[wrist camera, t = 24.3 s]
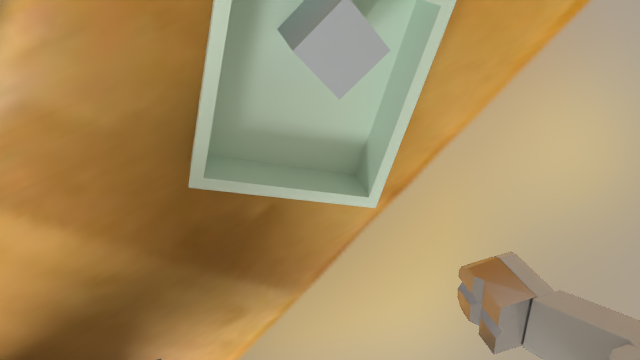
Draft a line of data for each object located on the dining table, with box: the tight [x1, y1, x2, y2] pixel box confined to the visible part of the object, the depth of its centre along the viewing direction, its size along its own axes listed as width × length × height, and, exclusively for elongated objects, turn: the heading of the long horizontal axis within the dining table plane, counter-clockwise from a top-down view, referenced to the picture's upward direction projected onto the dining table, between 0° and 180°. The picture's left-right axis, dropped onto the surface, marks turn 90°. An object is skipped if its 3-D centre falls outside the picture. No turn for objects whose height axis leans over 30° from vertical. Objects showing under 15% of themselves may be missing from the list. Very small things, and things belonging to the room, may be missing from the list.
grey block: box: [277, 0, 391, 100], centre depth 28 cm, size 4×4×7 cm
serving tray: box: [188, 0, 457, 208], centre depth 32 cm, size 18×16×5 cm
